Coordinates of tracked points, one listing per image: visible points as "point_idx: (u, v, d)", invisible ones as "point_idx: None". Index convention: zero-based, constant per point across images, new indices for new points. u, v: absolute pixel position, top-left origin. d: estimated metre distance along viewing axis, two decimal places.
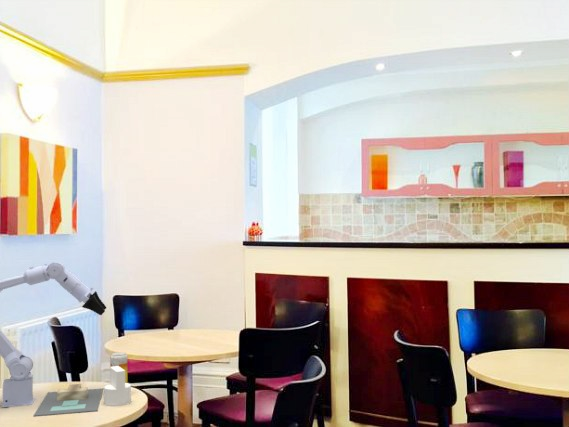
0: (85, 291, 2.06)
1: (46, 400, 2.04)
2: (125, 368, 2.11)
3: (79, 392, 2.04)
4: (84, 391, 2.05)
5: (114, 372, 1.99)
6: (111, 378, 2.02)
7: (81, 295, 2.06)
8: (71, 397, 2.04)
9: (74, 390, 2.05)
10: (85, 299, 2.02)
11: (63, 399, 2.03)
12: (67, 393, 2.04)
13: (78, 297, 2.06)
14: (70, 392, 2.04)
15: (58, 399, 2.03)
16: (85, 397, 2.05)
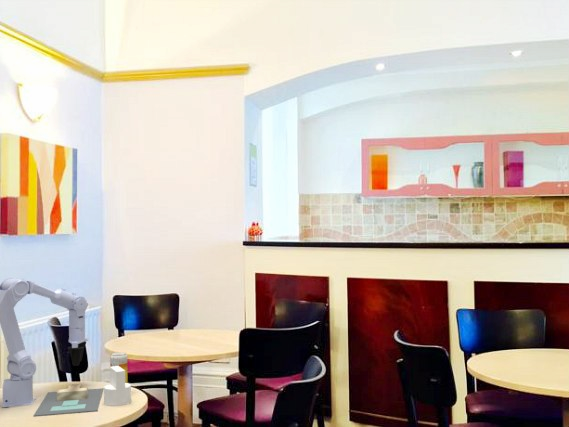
0: (80, 338, 2.17)
1: (46, 400, 2.04)
2: (125, 368, 2.11)
3: (79, 392, 2.04)
4: (84, 391, 2.05)
5: (114, 372, 1.99)
6: (111, 378, 2.02)
7: (75, 338, 2.16)
8: (71, 397, 2.04)
9: (74, 390, 2.05)
10: (75, 346, 2.12)
11: (63, 399, 2.03)
12: (67, 393, 2.04)
13: (71, 337, 2.16)
14: (70, 392, 2.04)
15: (58, 399, 2.03)
16: (85, 397, 2.05)
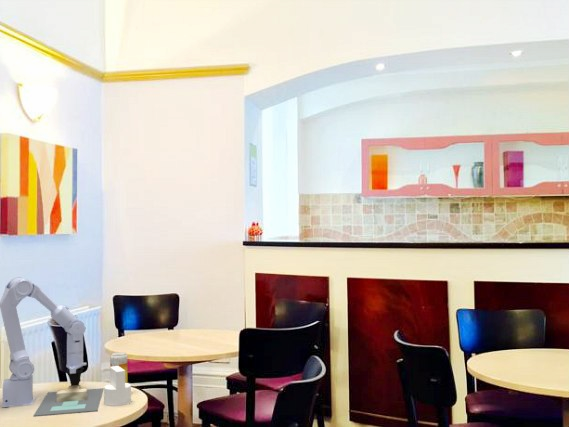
0: (78, 363, 2.12)
1: (46, 400, 2.04)
2: (125, 368, 2.11)
3: (79, 393, 2.03)
4: (84, 392, 2.04)
5: (114, 372, 1.99)
6: (111, 378, 2.02)
7: (73, 363, 2.11)
8: (71, 398, 2.02)
9: (74, 391, 2.04)
10: (73, 371, 2.06)
11: (63, 400, 2.02)
12: (67, 394, 2.02)
13: (69, 362, 2.11)
14: (70, 393, 2.02)
15: (58, 400, 2.01)
16: (85, 398, 2.04)
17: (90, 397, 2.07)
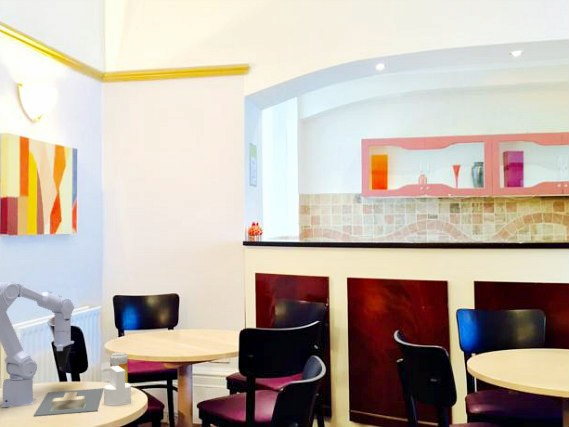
0: (65, 341, 2.15)
1: (46, 400, 2.04)
2: (125, 368, 2.11)
3: (75, 401, 1.94)
4: (81, 400, 1.94)
5: (114, 372, 1.99)
6: (111, 378, 2.02)
7: (60, 341, 2.14)
8: (67, 406, 1.93)
9: (70, 399, 1.95)
10: (60, 349, 2.10)
11: (59, 408, 1.92)
12: (63, 402, 1.93)
13: (56, 340, 2.14)
14: (66, 401, 1.93)
15: (53, 408, 1.92)
16: (82, 406, 1.94)
17: (90, 397, 2.07)
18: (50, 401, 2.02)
